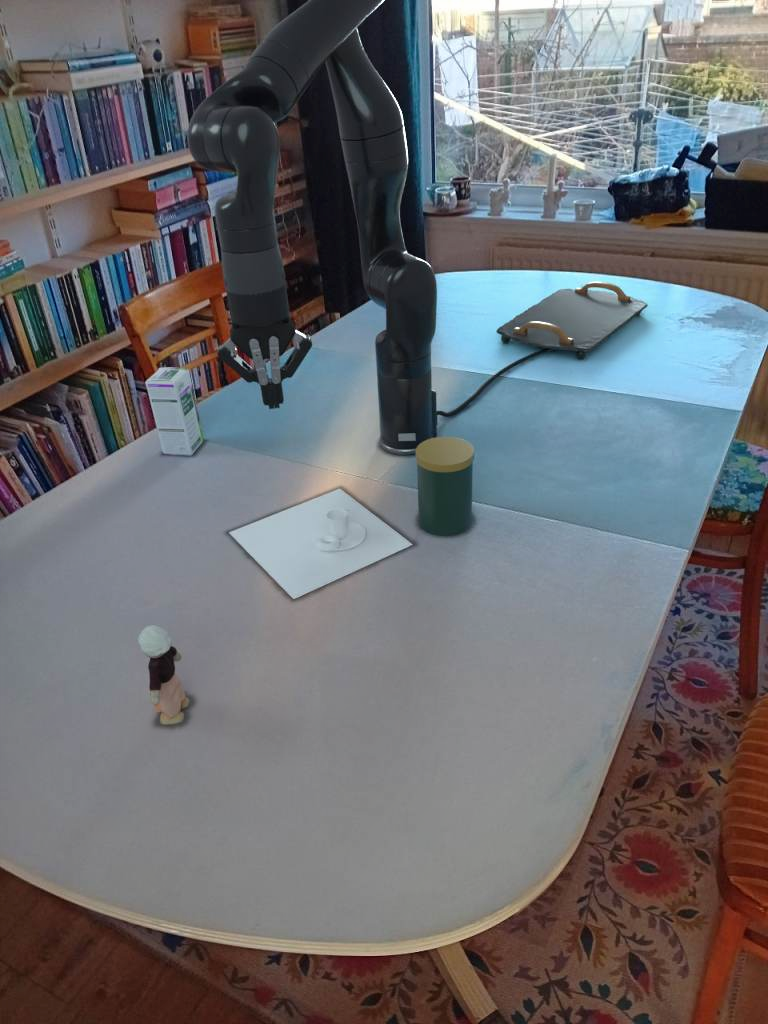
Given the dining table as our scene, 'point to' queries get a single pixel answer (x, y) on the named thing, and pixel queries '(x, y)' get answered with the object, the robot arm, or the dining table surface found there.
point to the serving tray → (573, 319)
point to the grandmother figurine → (163, 675)
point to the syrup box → (175, 410)
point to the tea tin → (445, 485)
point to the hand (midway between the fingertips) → (274, 406)
